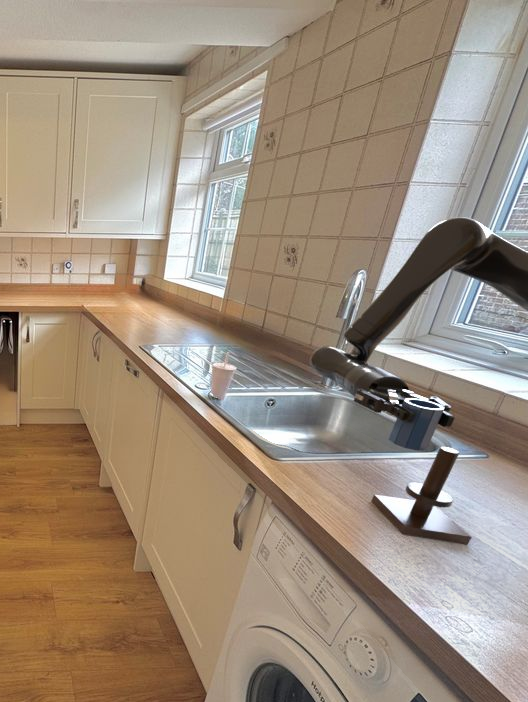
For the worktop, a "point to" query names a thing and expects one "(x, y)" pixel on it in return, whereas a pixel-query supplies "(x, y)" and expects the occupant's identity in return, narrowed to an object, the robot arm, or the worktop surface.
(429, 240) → the robot arm
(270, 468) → the worktop surface
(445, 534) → the stand
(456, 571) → the worktop surface
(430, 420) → the blue hollow faceted cylinder
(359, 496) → the worktop surface
